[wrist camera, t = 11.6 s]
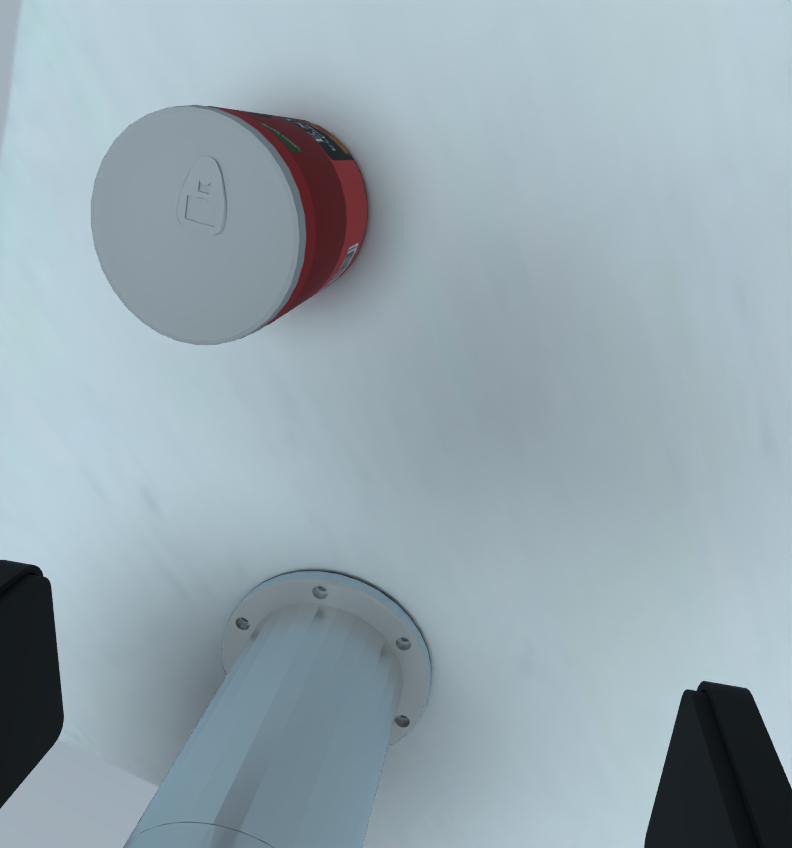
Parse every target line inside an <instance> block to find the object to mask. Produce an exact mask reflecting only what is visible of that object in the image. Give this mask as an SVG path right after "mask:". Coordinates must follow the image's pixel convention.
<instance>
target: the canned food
mask: <svg viewBox="0 0 792 848" xmlns="http://www.w3.org/2000/svg"><path fill="white" fill-rule="evenodd" d="M367 216H368V215H367V196H366V192H365V187H364V183H363V179H362V177H361V174H360V172H359V170H358V167H357V165H356V163H355V161H354V160H353V158H352V157H351V155H350V154H349V152H348V151H347V149H346V148H345V147H344V146H343V145H342V144H341V143H340V142H339V141H338V140H337V139H336V138H335V137H334V136H333V135H332V134H330V133H329V132H327V131H326V130H324V129H323V128H321V127H320V126H317V125H315V124H312V123H310V122H307V121H305V120H299V119H293V118H286V117H280V116H273V115H266V114H259V113H253V112H246V111H239V110H232V109H225V108H219V107H212V106H199V105H190V106H177V107H172V108H165V109H162V110H159V111H156V112H153V113H150V114H147V115H145V116H144V117H142V118H141V119H139V120H137V121H136V122H134V123H133V124H131V125H129V126H128V127H127V128H126V129H125V130H124V131H123V132H122V133H121V134H120V135H119V136H118V137H117V138H116V139H115V141H114V142H113V144H112V145H111V147H110V148H109V150H108V152H107V153H106V155H105V156H104V158H103V160H102V162H101V165H100V168H99V170H98V173H97V176H96V178H95V182H94V188H93V194H92V199H91V228H92V234H93V240H94V245H95V250H96V252H97V255H98V258H99V261H100V264H101V267H102V270H103V272H104V274H105V276H106V277H107V279H108V281H109V283H110V285H111V287H112V289H113V290H114V292H115V293H116V294H117V296H118V297H119V298H120V300H121V301H122V302H123V303H124V305H125V306H126V307H127V308H128V309H129V310H130V311H131V312H132V313H133V314H134V315H135V316H136V317H137V318H138V319H139V320H140V321H142V322H143V323H145V324H146V325H148V326H149V327H151V328H152V329H154V330H155V331H157V332H158V333H160V334H162V335H165V336H167V337H170V338H172V339H174V340H177V341H181V342H185V343H190V344H195V345H217V344H221V343H226V342H230V341H234V340H237V339H241V338H243V337H245V336H247V335H249V334H252V333H254V332H256V331H258V330H260V329H261V328H263V327H264V326H266V325H268V324H270V323H272V322H273V321H275V320H276V319H278V318H279V317H281V316H282V315H284V314H286V313H287V312H289V311H290V310H292V309H293V308H295V307H296V306H298V305H299V304H301V303H302V302H304V301H305V300H307V299H309V298H310V297H312V296H313V295H315V294H316V293H318V292H319V291H321V290H322V289H324V288H325V287H327V286H328V285H330V284H331V283H332V282H334V281H335V280H336V279H338V278H339V277H340V276H341V275H342V274H343V273H344V272H345V271H346V270H347V268H348V267H349V266H350V265H351V264H352V262H353V260H354V258H355V257H356V255H357V253H358V251H359V249H360V247H361V244H362V241H363V238H364V235H365V230H366V223H367Z"/></svg>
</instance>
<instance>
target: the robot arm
mask: <svg viewBox="0 0 792 848" xmlns="http://www.w3.org/2000/svg"><path fill="white" fill-rule="evenodd" d="M222 658H223V667H224V670H225V673H226V677H225V679H224V681H223V682H222V684H221V686H220V687H219V689H218V691H217V692H216V694H215V696H214V697H213V699H212V701H211V702H210V704H209V706H208V707H207V709H206V711H205V712H204V714H203V716H202V717H201V719H200V721H199V722H198V724H197V726H196V727H195V729H194V731H193V732H192V734H191V736H190V737H189V739H188V741H187V742H186V744H185V745H184V747H183V749H182V750H181V752H180V754H179V755H178V757H177V759H176V760H175V762H174V764H173V765H172V767H171V769H170V770H169V772H168V774H167V775H166V777H165V779H164V780H163V782H162V784H161V785H160V787H159V789H158V791H157V792H156V794H155V796H154V797H153V799H152V800H151V802H150V804H149V805H148V807H147V809H146V810H145V812H144V814H143V815H142V817H141V819H140V820H139V822H138V824H137V826H136V827H135V829H134V830H133V832H132V834H131V836H130V837H129V839H128V840H127V842H126V844H125V846H124V847H123V848H362V845H363V841H364V837H365V834H366V830H367V826H368V822H369V818H370V814H371V810H372V806H373V803H374V799H375V795H376V791H377V787H378V783H379V779H380V775H381V772H382V768H383V764H384V760H385V756H386V752H387V748H388V747H389V746H390V745H392V744H394V743H396V742H398V741H399V740H401V739H402V738H403V737H404V736H405V735H407V734H408V733H409V732H410V731H411V730H412V729H413V728H414V726H415V725H416V723H417V722H418V721H419V719H420V718H421V716H422V714H423V711H424V709H425V706H426V704H427V701H428V696H429V691H430V687H431V664H430V659H429V654H428V650H427V648H426V645H425V643H424V641H423V638H422V636H421V634H420V632H419V631H418V629H417V628H416V626H415V625H414V623H413V622H412V620H411V619H410V617H409V616H408V615H407V614H406V613H405V612H404V611H403V610H402V609H401V608H400V607H399V606H398V605H397V604H396V603H395V602H393V601H392V600H391V599H389V598H388V597H387V596H385V595H384V594H383V593H381V592H380V591H378V590H376V589H375V588H373V587H371V586H369V585H367V584H365V583H363V582H361V581H358V580H355V579H352V578H349V577H346V576H343V575H340V574H334V573H328V572H321V571H302V572H294V573H289V574H284V575H280V576H278V577H275V578H273V579H270V580H268V581H266V582H263V583H262V584H261V585H259V586H258V587H256V588H255V589H254V590H252V591H251V592H249V594H248V595H247V596H246V597H245V598H244V599H243V600H242V601H241V603H240V604H239V605H238V607H237V608H236V610H235V611H234V613H233V614H232V616H231V617H230V619H229V622H228V624H227V627H226V630H225V632H224V637H223V644H222ZM63 722H64V713H63V703H62V693H61V683H60V673H59V662H58V652H57V642H56V632H55V621H54V611H53V601H52V591H51V584H50V581H49V580H48V578H46V577H43V573H42V571H41V570H40V568H39V567H37V566H35V565H30V564H24V563H19V562H13V561H7V560H0V808H1V807H2V806H3V805H4V803H5V802H6V801H7V800H8V798H9V797H10V796H11V795H12V794H13V793H14V791H15V790H16V789H17V788H18V787H19V785H20V784H21V783H22V782H23V781H24V779H25V778H26V777H27V776H28V774H30V772H31V771H32V770H33V769H34V768H35V766H36V765H37V764H38V762H40V760H41V759H42V758H43V757H44V755H45V754H46V753H47V752H48V751H49V750H50V748H51V747H52V746H53V745H54V743H55V742H56V741H57V739H58V737H59V735H60V733H61V730H62V727H63ZM644 848H792V788H791V786H790V784H789V781H788V779H787V777H786V774H785V772H784V769H783V767H782V765H781V762H780V760H779V758H778V755H777V753H776V750H775V748H774V746H773V743H772V741H771V739H770V736H769V734H768V732H767V729H766V727H765V724H764V722H763V720H762V717H761V715H760V713H759V710H758V708H757V705H756V703H755V701H754V698H753V696H752V694H751V693H750V691H749V690H748V689H746V688H742V687H736V686H730V685H724V684H718V683H713V682H707V681H703V682H701V683H700V685H699V686H698V689H697V691H694V690H688V689H687V690H685V691H684V693H683V695H682V698H681V702H680V706H679V710H678V714H677V718H676V721H675V725H674V729H673V733H672V737H671V741H670V744H669V748H668V752H667V756H666V760H665V764H664V768H663V771H662V775H661V779H660V783H659V787H658V791H657V794H656V798H655V802H654V806H653V810H652V814H651V818H650V821H649V825H648V829H647V833H646V838H645V846H644Z"/></svg>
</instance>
